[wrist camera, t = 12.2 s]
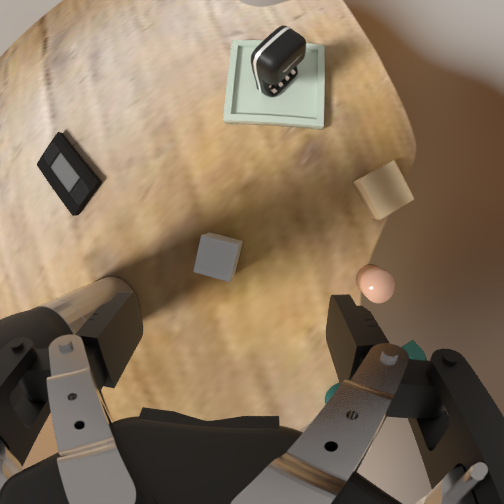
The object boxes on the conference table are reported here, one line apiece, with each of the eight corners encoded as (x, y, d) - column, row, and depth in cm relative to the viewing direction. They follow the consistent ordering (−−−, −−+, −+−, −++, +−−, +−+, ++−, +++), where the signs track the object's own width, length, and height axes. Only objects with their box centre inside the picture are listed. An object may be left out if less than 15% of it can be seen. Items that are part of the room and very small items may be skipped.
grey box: (202, 265, 44) (193, 271, 39) (209, 232, 43) (201, 234, 39) (235, 274, 44) (229, 282, 39) (243, 240, 43) (238, 244, 38)
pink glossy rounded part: (354, 292, 43) (362, 302, 38) (358, 263, 42) (367, 269, 37) (380, 294, 42) (392, 303, 38) (385, 265, 42) (397, 272, 37)
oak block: (371, 218, 41) (380, 219, 37) (352, 182, 41) (359, 179, 37) (403, 199, 40) (414, 199, 36) (384, 164, 40) (394, 159, 36)
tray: (225, 123, 41) (223, 120, 39) (233, 45, 39) (232, 40, 37) (321, 129, 40) (323, 126, 38) (323, 50, 38) (324, 45, 36)
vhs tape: (79, 215, 46) (73, 216, 44) (43, 165, 45) (36, 164, 43) (104, 182, 44) (97, 181, 42) (64, 133, 44) (57, 131, 42)
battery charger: (275, 105, 39) (273, 71, 28) (254, 90, 39) (246, 54, 28) (305, 74, 38) (312, 35, 27) (285, 60, 38) (286, 19, 27)
